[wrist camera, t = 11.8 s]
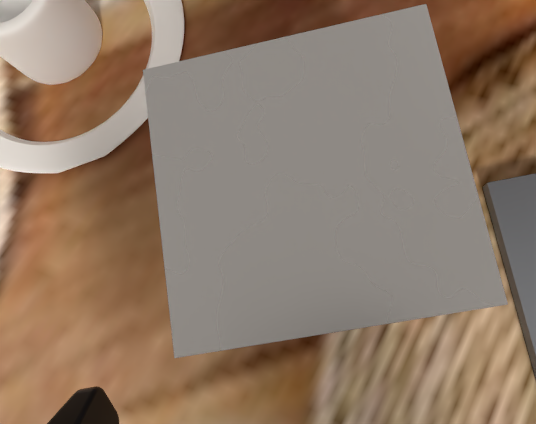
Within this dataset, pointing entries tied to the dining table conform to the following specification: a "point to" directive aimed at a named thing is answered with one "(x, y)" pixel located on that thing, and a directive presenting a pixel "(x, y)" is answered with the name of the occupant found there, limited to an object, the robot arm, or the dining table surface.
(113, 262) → the dining table surface
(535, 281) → the slate board
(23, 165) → the candle holder
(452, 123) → the steel cover
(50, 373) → the dining table surface
